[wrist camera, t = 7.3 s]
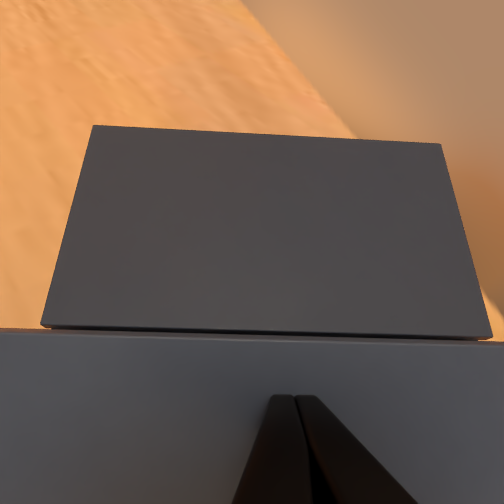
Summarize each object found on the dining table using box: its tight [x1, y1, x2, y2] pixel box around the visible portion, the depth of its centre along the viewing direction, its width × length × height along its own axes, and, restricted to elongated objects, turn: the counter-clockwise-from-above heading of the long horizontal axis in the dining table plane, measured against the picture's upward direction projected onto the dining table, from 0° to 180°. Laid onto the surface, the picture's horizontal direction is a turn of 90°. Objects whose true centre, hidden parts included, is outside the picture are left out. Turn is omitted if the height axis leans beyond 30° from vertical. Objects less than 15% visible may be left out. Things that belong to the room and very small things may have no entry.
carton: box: [40, 125, 493, 341], centre depth 14 cm, size 15×13×8 cm
